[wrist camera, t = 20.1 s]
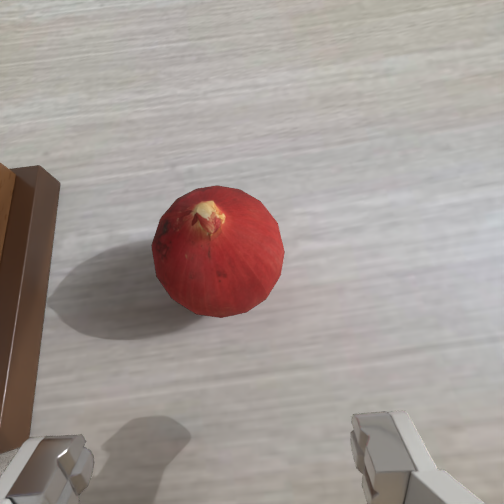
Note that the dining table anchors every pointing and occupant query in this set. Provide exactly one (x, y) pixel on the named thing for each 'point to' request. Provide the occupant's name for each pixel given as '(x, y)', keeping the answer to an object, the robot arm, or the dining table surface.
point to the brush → (23, 291)
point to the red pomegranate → (218, 251)
